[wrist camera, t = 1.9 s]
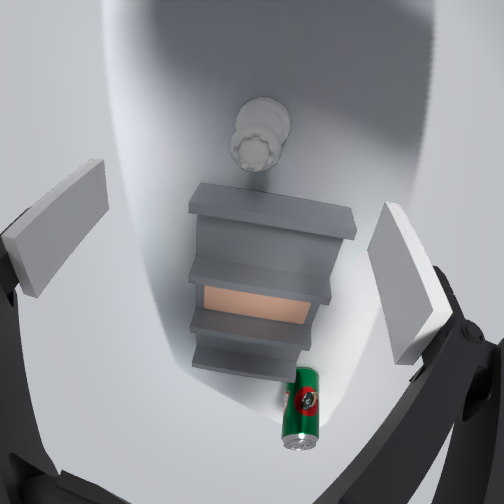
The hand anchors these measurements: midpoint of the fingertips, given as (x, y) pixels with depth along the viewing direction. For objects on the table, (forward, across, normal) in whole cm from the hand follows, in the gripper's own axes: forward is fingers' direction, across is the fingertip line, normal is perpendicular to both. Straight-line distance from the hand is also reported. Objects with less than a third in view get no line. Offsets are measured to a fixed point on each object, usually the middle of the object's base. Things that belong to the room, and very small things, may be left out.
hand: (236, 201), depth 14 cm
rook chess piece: (+14, 0, 0) cm, 14 cm away
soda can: (+14, +11, -35) cm, 39 cm away
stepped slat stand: (+14, +2, -19) cm, 23 cm away
